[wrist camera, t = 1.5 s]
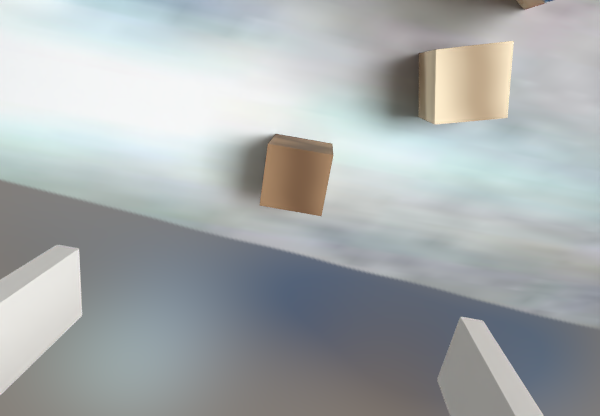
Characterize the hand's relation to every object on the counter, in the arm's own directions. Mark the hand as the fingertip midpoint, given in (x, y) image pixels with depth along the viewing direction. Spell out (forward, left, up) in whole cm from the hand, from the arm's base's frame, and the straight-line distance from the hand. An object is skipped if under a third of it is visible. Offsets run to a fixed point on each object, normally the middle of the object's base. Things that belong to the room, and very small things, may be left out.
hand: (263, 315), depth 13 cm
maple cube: (+11, +9, -22) cm, 26 cm away
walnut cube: (0, 0, -22) cm, 22 cm away
